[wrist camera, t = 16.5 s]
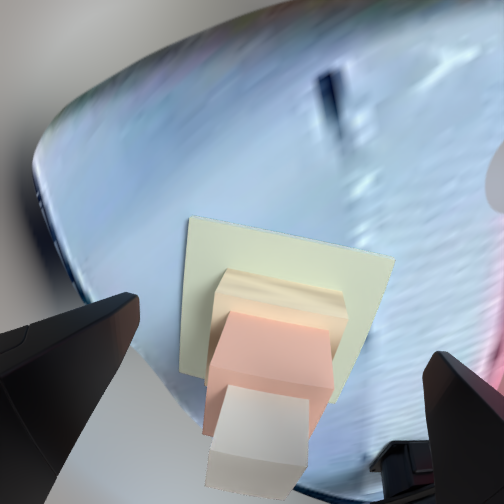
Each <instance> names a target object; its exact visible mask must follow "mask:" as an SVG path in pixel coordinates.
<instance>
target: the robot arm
mask: <svg viewBox="0 0 504 504" xmlns="http://www.w3.org/2000/svg"><path fill="white" fill-rule="evenodd" d="M139 322H140V306H139V297H138V296H137V295H136V294H132V293H128V292H124V293H121V294H118V295H115V296H112V297H109V298H106V299H103V300H100V301H97V302H94V303H91V304H88V305H85V306H82V307H79V308H76V309H73V310H70V311H67V312H65V313H62V314H59V315H55V316H53V317H50V318H47V319H44V320H41V321H38V322H35V323H32V324H30V325H29V326H28V325H26V326H23V327H20V328H17V329H14V330H11V331H8V332H5V333H1V334H0V504H44V502H45V500H46V498H47V496H48V494H49V492H50V490H51V488H52V486H53V485H54V483H55V480H56V479H57V476H58V475H59V473H60V471H61V469H62V467H63V465H64V463H65V461H66V460H67V458H68V456H69V454H70V452H71V450H72V448H73V447H74V445H75V443H76V441H77V439H78V437H79V436H80V434H81V432H82V430H83V429H84V427H85V425H86V423H87V421H88V420H89V418H90V416H91V414H92V413H93V411H94V409H95V407H96V406H97V404H98V402H99V401H100V399H101V397H102V395H103V394H104V392H105V390H106V389H107V387H108V385H109V384H110V382H111V380H112V379H113V377H114V375H115V374H116V372H117V370H118V368H119V367H120V364H121V363H122V360H123V358H124V356H125V354H126V352H127V350H128V347H129V345H130V343H131V341H132V339H133V337H134V334H135V332H136V330H137V328H138V326H139ZM422 379H423V389H424V400H425V413H426V422H427V429H428V435H429V441H393V442H391V443H390V444H389V445H388V447H387V448H386V449H385V450H384V452H383V453H382V454H381V455H380V456H379V458H378V459H377V460H376V461H375V462H374V463H373V465H372V466H371V467H370V468H369V470H370V472H381V477H382V485H383V493H384V500H380V501H377V502H375V501H374V502H370V504H504V396H503V395H501V394H500V393H499V392H498V391H496V390H495V389H494V388H493V387H492V386H490V385H489V384H488V383H487V382H485V381H484V380H483V379H481V378H480V377H479V376H478V375H476V374H475V373H474V372H473V371H471V370H470V369H469V368H468V367H466V366H465V365H464V364H462V363H461V362H460V361H459V360H457V359H456V358H455V357H453V356H452V355H451V354H450V353H448V352H445V351H436V352H435V353H434V354H433V355H432V357H431V359H430V361H429V362H428V364H427V366H426V368H425V369H424V372H423V377H422Z"/></svg>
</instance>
